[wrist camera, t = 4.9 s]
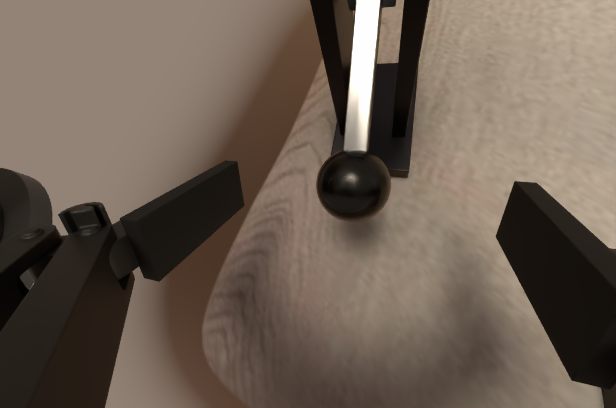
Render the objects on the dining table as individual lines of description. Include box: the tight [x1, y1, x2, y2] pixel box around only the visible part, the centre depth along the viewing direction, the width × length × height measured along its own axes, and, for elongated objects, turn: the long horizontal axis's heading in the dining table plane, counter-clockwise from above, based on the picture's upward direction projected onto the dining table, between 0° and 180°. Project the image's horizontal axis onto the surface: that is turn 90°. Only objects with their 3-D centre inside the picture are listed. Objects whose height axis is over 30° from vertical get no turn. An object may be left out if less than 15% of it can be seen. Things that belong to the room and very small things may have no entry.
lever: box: [316, 0, 396, 222], centre depth 13 cm, size 13×4×4 cm, turn 169°
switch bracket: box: [310, 0, 430, 177], centre depth 16 cm, size 10×6×14 cm, turn 169°
